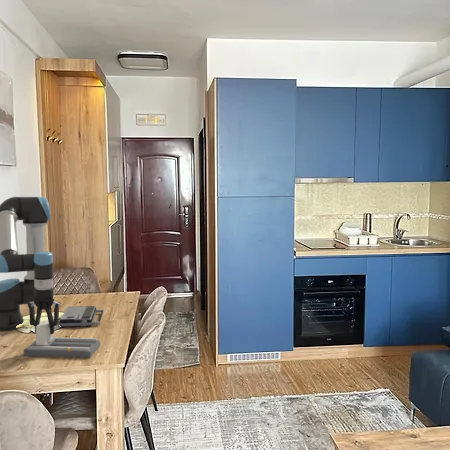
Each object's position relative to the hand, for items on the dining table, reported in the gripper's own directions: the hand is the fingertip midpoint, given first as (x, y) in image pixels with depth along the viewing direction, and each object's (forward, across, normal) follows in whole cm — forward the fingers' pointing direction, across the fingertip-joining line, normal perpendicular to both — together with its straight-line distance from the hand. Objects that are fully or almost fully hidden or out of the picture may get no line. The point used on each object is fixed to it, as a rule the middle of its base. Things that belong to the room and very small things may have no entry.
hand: (44, 340), depth 196 cm
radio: (+5, +2, +43) cm, 43 cm away
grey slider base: (+4, +8, 0) cm, 9 cm away
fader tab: (+1, 0, 0) cm, 1 cm away
